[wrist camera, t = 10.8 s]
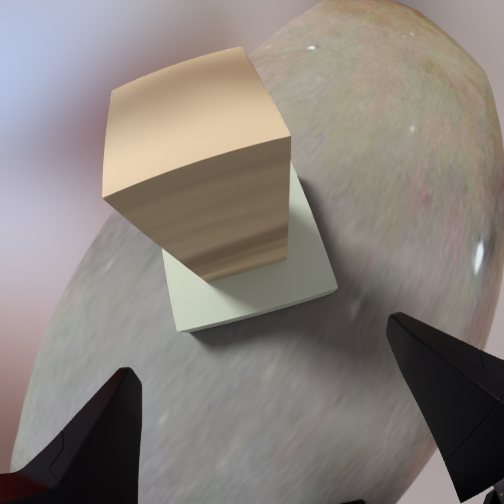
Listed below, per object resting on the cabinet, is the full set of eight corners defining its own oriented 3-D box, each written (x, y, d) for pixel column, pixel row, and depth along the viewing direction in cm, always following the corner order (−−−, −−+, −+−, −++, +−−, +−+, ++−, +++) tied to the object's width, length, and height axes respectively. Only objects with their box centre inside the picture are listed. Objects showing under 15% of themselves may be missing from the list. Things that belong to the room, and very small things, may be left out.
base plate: (331, 293, 20) (338, 287, 17) (189, 332, 20) (177, 331, 17) (287, 170, 23) (287, 153, 21) (166, 206, 23) (155, 193, 21)
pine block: (286, 259, 18) (290, 135, 7) (206, 282, 18) (102, 198, 7) (263, 190, 20) (241, 46, 9) (191, 211, 20) (111, 90, 9)
